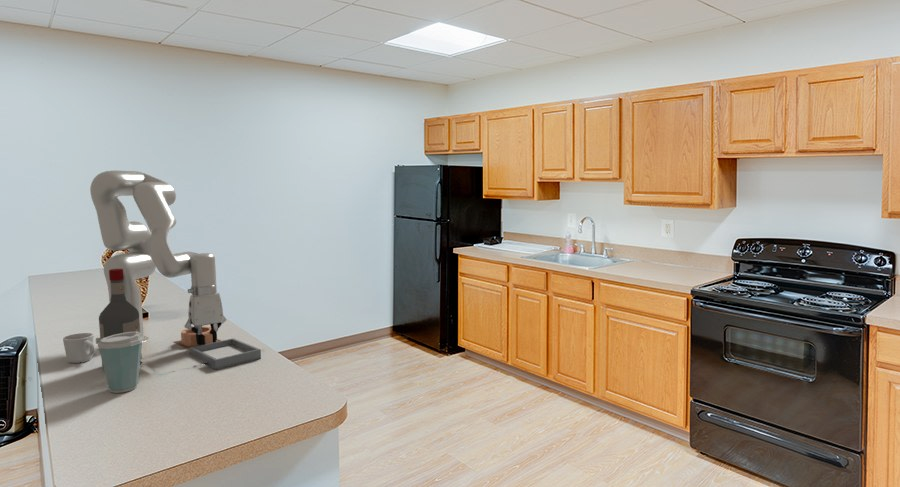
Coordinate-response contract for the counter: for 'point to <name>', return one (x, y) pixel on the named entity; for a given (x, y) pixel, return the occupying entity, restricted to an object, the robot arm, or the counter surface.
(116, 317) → the liquor
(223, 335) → the counter surface
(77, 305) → the counter surface
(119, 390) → the disposable coffee cup
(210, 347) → the gray rectangular frame
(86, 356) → the cup
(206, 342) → the ring
